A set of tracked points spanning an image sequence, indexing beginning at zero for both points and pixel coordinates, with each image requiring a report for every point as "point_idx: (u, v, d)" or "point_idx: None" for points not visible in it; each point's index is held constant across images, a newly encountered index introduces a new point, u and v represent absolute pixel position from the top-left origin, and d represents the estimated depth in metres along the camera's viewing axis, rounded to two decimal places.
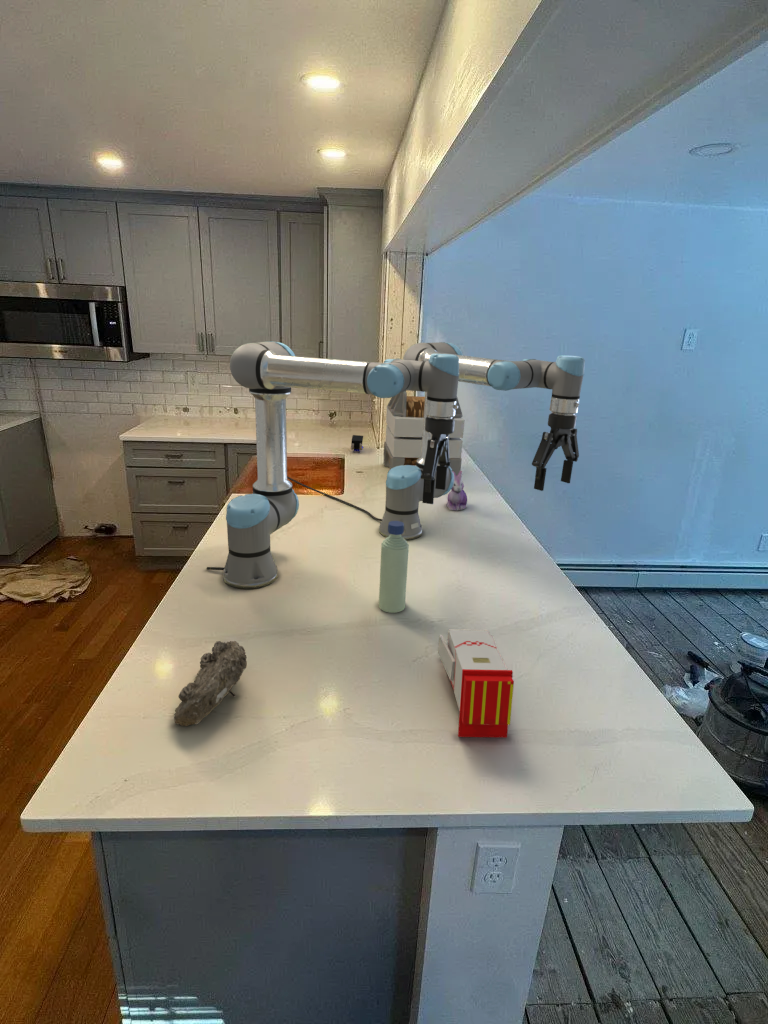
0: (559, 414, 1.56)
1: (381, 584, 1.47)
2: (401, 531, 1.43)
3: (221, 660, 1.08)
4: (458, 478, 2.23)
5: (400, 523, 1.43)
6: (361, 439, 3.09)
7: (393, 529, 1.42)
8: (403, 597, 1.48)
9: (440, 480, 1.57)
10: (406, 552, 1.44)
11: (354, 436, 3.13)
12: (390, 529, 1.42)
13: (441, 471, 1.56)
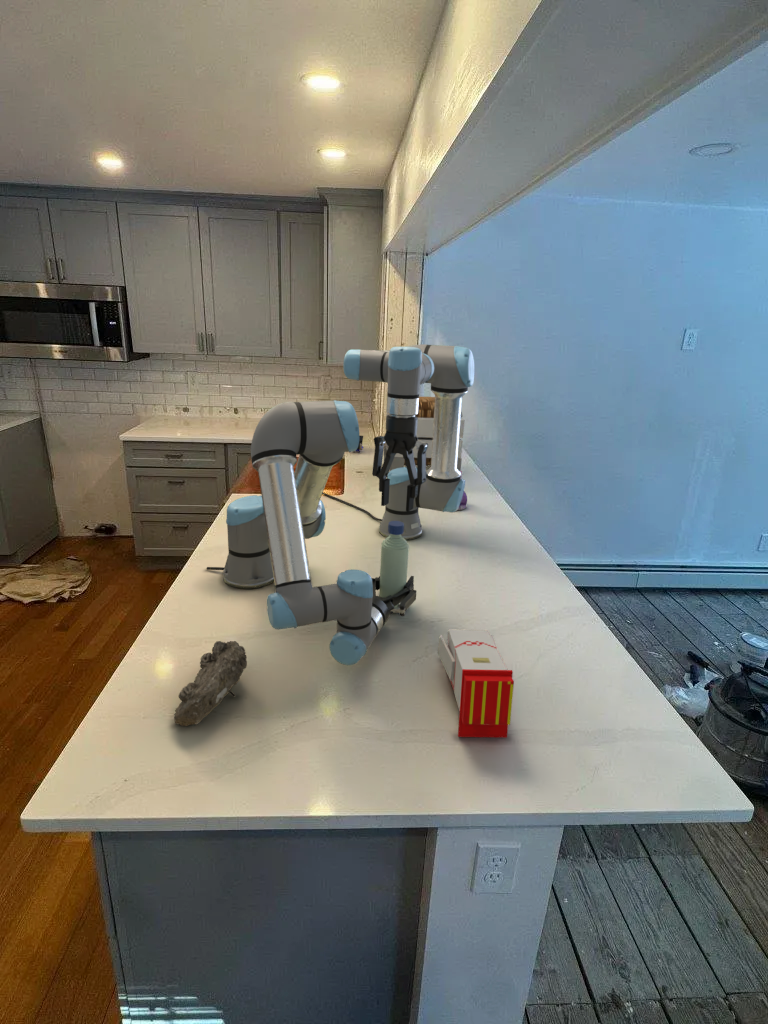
0: (415, 416, 1.33)
1: (381, 584, 1.47)
2: (401, 531, 1.43)
3: (221, 660, 1.08)
4: None
5: (400, 523, 1.43)
6: (361, 439, 3.09)
7: (393, 529, 1.42)
8: None
9: None
10: (406, 552, 1.44)
11: None
12: (390, 529, 1.42)
13: None
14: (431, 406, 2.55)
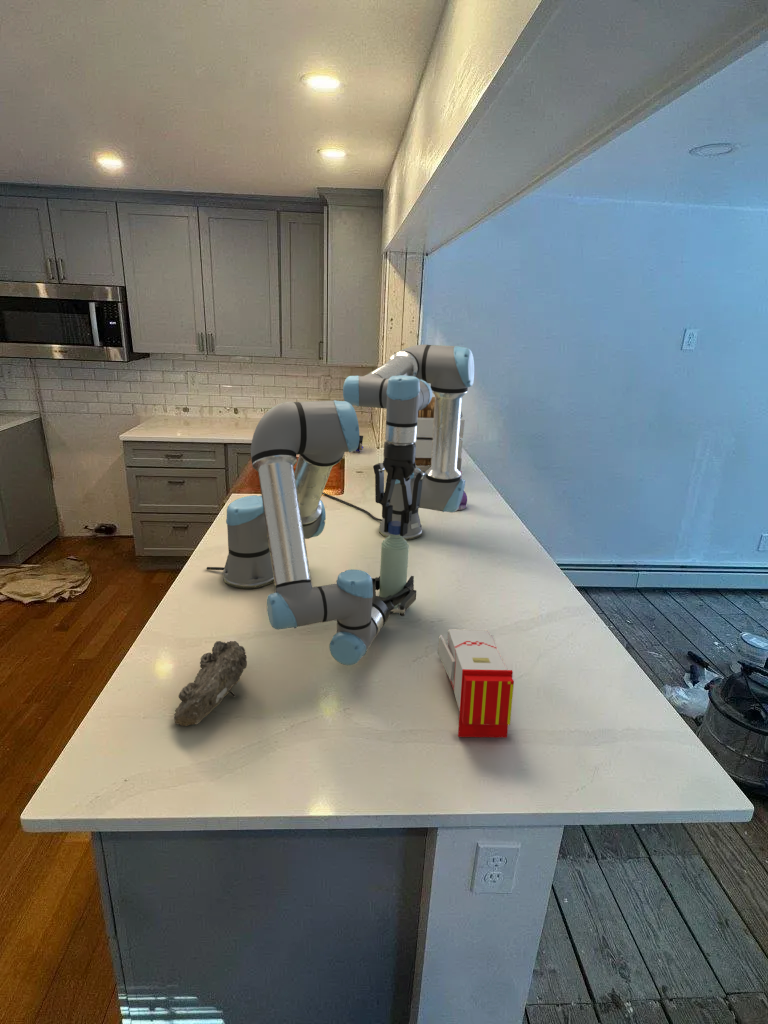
0: (413, 443, 1.36)
1: (381, 584, 1.47)
2: None
3: (221, 660, 1.08)
4: None
5: (400, 523, 1.43)
6: (361, 439, 3.09)
7: (393, 529, 1.42)
8: None
9: None
10: (406, 552, 1.44)
11: None
12: (390, 529, 1.42)
13: None
14: (431, 406, 2.55)
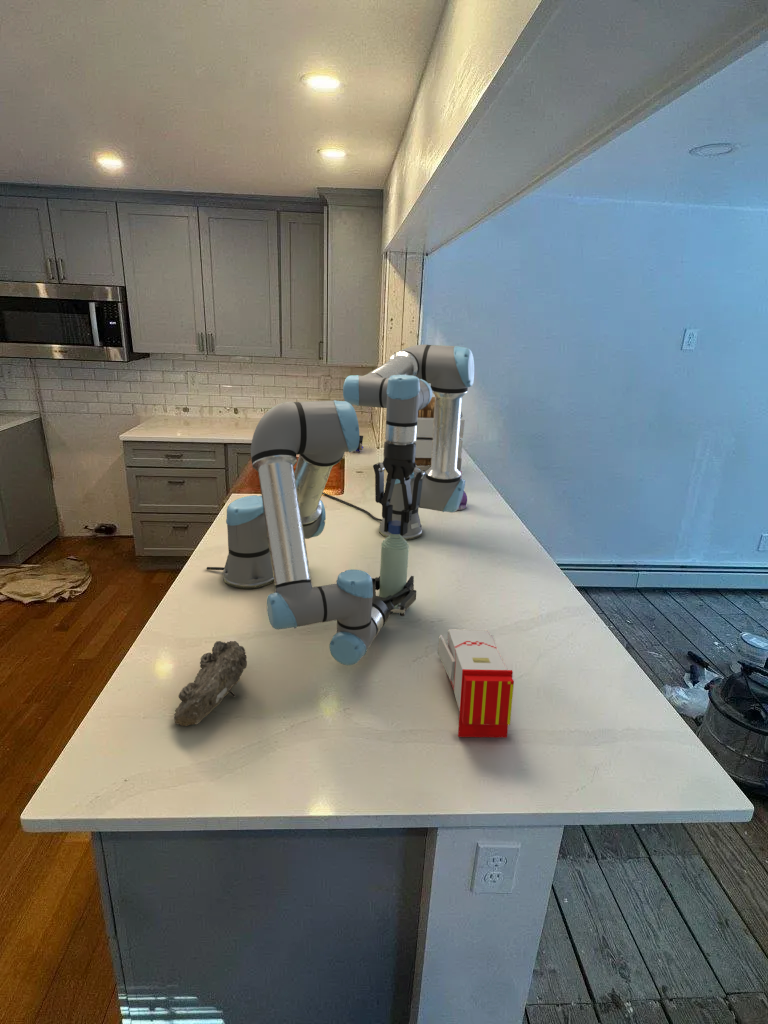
0: (413, 442, 1.35)
1: (381, 584, 1.47)
2: None
3: (221, 660, 1.08)
4: None
5: (392, 521, 1.44)
6: (361, 439, 3.09)
7: None
8: None
9: None
10: (406, 552, 1.44)
11: None
12: None
13: None
14: (431, 406, 2.55)
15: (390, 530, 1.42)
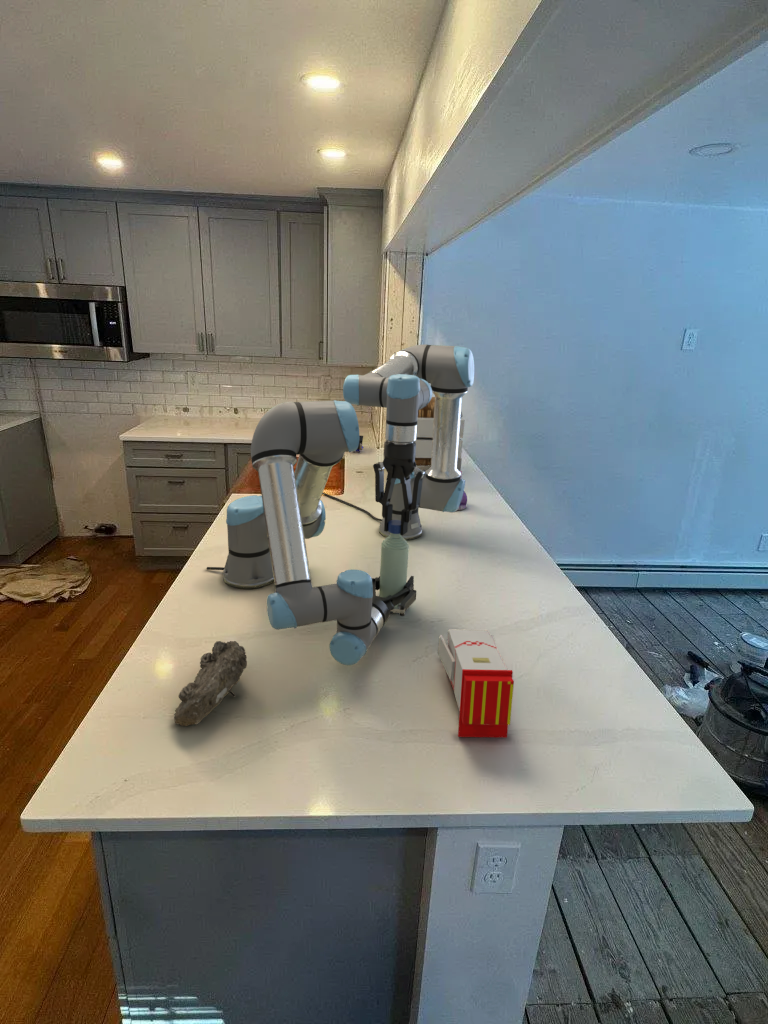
0: (413, 442, 1.35)
1: (381, 584, 1.47)
2: (389, 529, 1.43)
3: (221, 660, 1.08)
4: None
5: (396, 524, 1.42)
6: (361, 439, 3.09)
7: None
8: None
9: None
10: (406, 552, 1.44)
11: None
12: None
13: None
14: (431, 406, 2.55)
15: None
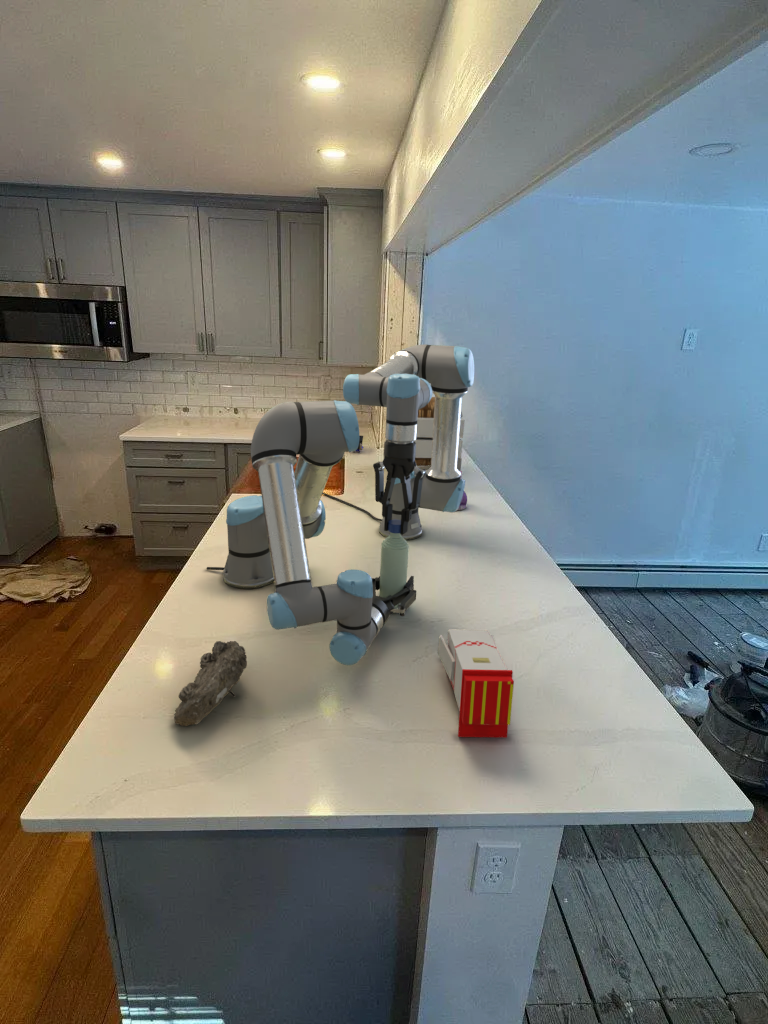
0: (413, 441, 1.35)
1: (381, 584, 1.47)
2: None
3: (221, 660, 1.08)
4: None
5: (399, 521, 1.44)
6: (361, 439, 3.09)
7: (397, 528, 1.42)
8: None
9: None
10: (406, 552, 1.44)
11: None
12: (393, 528, 1.42)
13: None
14: (431, 406, 2.55)
15: None
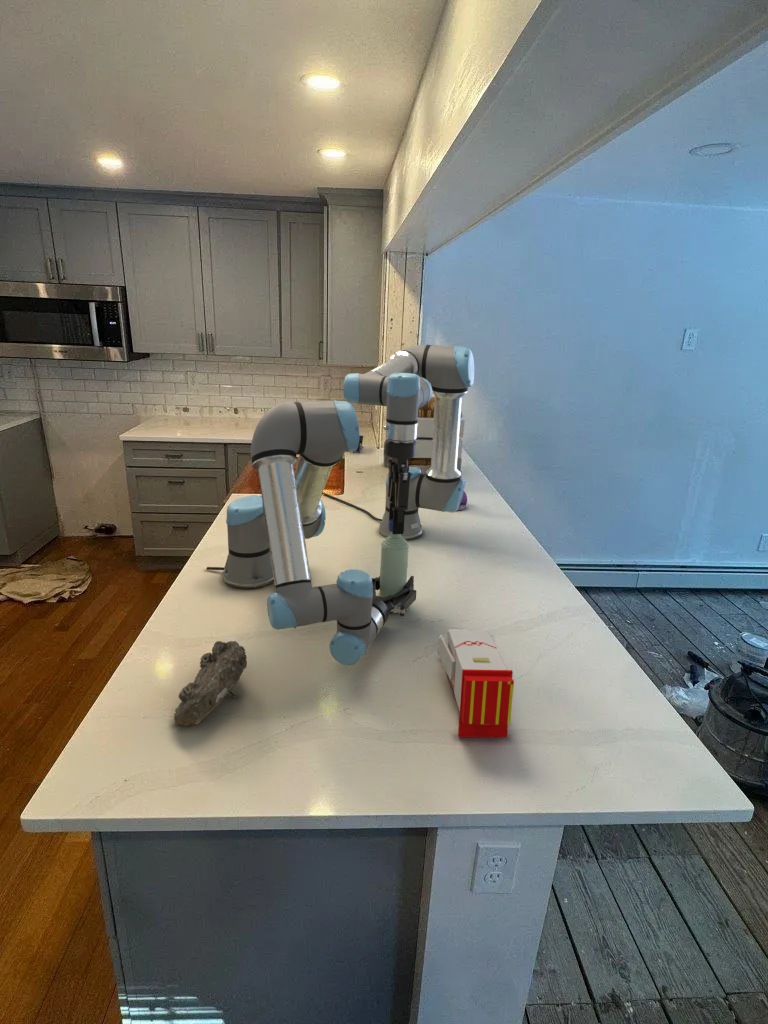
0: None
1: (381, 584, 1.47)
2: None
3: (221, 660, 1.08)
4: None
5: (392, 520, 1.43)
6: (361, 439, 3.09)
7: None
8: None
9: None
10: (406, 552, 1.44)
11: None
12: None
13: None
14: (431, 406, 2.55)
15: None
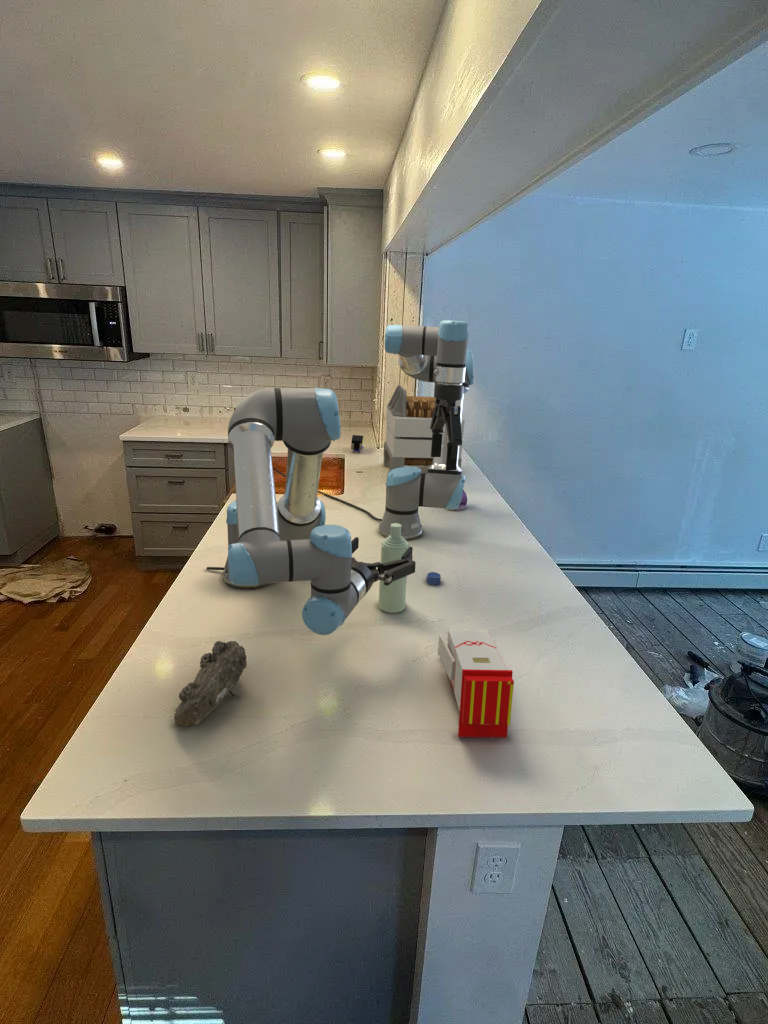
0: None
1: (381, 584, 1.47)
2: None
3: (221, 660, 1.08)
4: None
5: (430, 574, 1.65)
6: (361, 439, 3.09)
7: None
8: (403, 597, 1.48)
9: None
10: None
11: (354, 436, 3.13)
12: None
13: None
14: (431, 406, 2.55)
15: (431, 582, 1.64)
